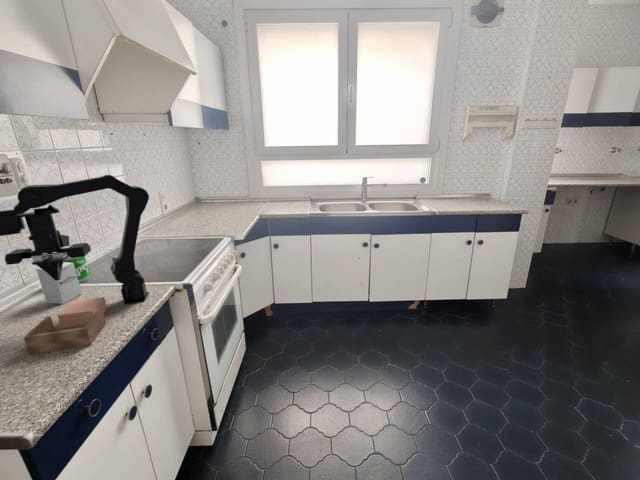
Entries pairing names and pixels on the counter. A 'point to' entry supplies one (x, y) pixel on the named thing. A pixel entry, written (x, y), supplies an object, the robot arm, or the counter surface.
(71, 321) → the terracotta block
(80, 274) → the soda can
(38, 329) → the walnut stall
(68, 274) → the supplement box
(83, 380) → the counter surface
